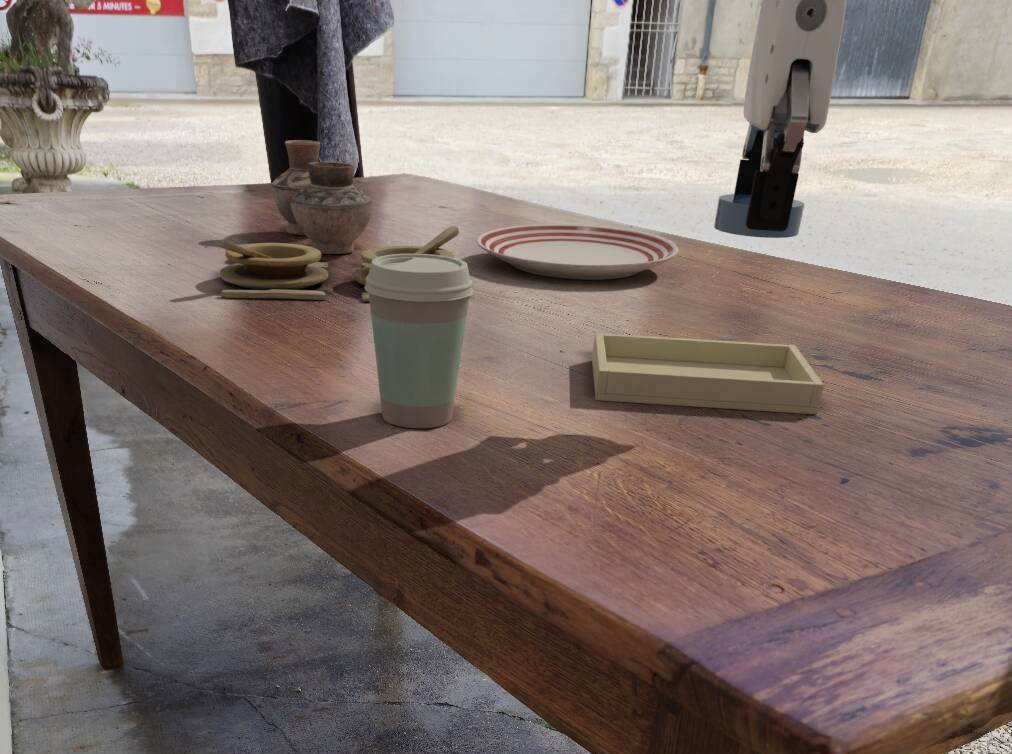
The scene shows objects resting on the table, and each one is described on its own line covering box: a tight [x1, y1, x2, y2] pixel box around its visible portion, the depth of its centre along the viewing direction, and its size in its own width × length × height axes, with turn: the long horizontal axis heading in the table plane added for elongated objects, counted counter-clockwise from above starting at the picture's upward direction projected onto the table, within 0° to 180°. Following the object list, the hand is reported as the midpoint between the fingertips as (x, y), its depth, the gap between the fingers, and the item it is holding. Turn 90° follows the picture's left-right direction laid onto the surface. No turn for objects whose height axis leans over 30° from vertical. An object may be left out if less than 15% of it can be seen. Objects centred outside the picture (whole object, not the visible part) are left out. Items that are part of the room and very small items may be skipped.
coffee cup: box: [364, 254, 475, 430], centre depth 84 cm, size 8×8×12 cm
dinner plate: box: [476, 223, 679, 281], centre depth 143 cm, size 28×27×3 cm
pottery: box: [270, 139, 374, 255], centre depth 148 cm, size 11×25×12 cm, turn 22°
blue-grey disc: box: [713, 193, 805, 239], centre depth 85 cm, size 7×7×2 cm
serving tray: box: [591, 332, 825, 415], centre depth 97 cm, size 20×14×3 cm
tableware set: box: [219, 225, 460, 303], centre depth 127 cm, size 30×20×6 cm, turn 95°
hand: (758, 219), depth 85 cm, fingers closed on blue-grey disc, 6 cm apart
